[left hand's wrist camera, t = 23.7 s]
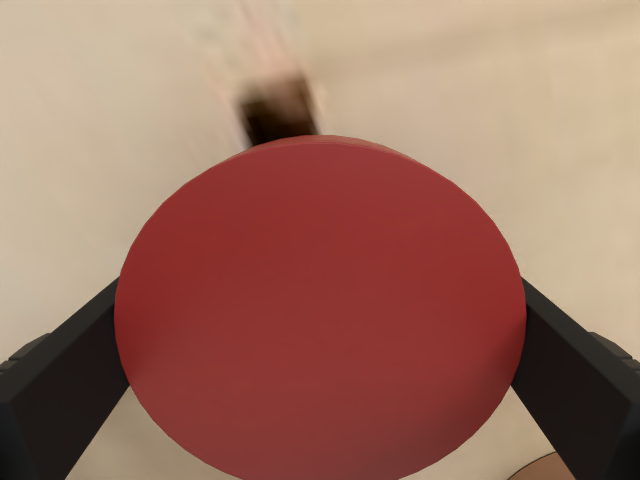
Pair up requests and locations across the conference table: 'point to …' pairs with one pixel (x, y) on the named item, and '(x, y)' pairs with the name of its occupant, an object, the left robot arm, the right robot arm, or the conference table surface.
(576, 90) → the conference table surface
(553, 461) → the jar
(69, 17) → the conference table surface
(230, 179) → the lid
